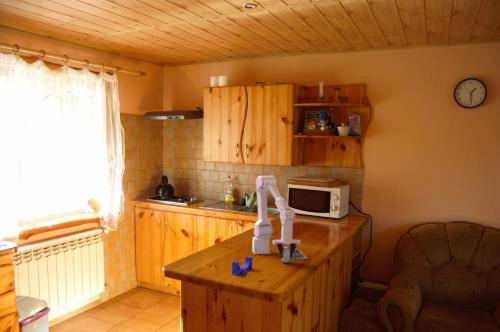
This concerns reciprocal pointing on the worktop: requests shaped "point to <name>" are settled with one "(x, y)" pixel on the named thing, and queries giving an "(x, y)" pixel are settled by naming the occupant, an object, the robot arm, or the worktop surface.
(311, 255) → the worktop surface
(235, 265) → the cable clip
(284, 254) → the cylinder
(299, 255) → the grey square tray
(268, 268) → the worktop surface
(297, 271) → the worktop surface
